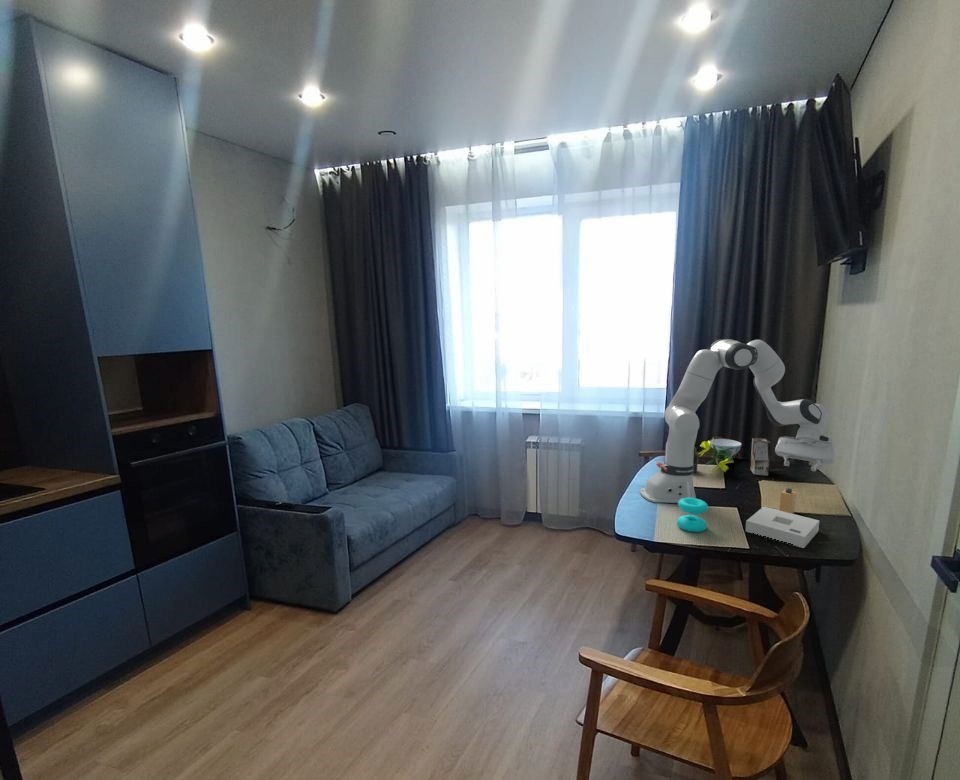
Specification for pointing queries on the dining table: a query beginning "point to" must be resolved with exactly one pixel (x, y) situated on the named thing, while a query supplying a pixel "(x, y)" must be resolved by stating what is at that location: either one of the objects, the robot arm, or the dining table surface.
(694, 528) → the donuts
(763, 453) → the coffee box
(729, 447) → the chinaware
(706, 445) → the daffodil flowers
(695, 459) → the supplement bottle
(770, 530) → the socket block
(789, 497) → the tan rectangular block
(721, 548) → the dining table surface
